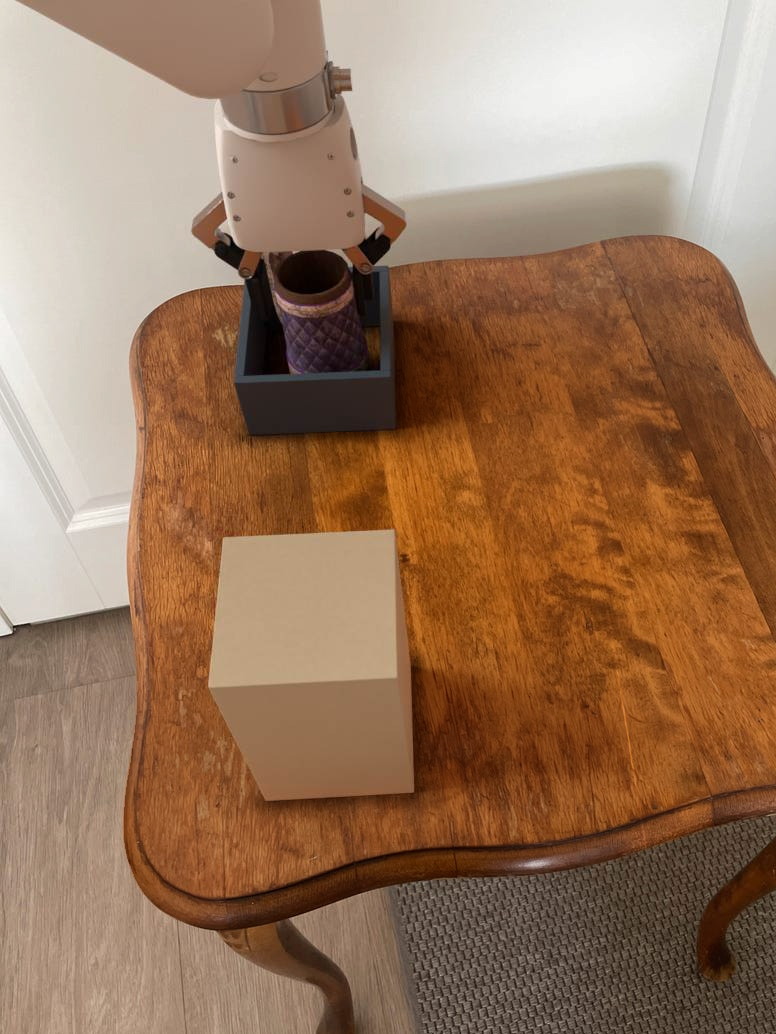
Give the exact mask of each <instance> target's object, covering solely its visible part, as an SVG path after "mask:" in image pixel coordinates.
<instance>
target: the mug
mask: <svg viewBox="0 0 776 1034" xmlns="http://www.w3.org/2000/svg"><path fill="white" fill-rule="evenodd" d="M261 257H262V259H264V261H265V265H266V269H267V274H268V278H269V283H270V287H271V292H272V297H273V301H274V305H275V309H276V312H277V314H278V317H279V320H280V322H281V323H282V324H283V329H284V330H283V333H284V339H285V345H286V350H285V355H286V359H287V365H288V369H289V370H288V371H289V374H304V373H329V372H354V371H372V369H371V365H370V364H371V356H370V350H369V345H368V341H367V337H366V336H365V335H364V331H363V327H362V326H361V321H360V316H359V314H358V310H357V306H356V300H355V293H354V286H353V279H352V275H351V271H350V269H349V268H348V267H349V264H348V262H347V261H346V260H345V258H343V256H342V255H339V254H338V253H336V252H334V251H332V250H331V251H330V250H311V251H296V252H295V253H294V251H284V252H263V253H262V255H261Z"/></svg>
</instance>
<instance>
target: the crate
mask: <svg viewBox="0 0 776 1034" xmlns="http://www.w3.org/2000/svg"><path fill="white" fill-rule="evenodd" d="M389 267H390V266H389V265H374V266H373V271H372V279H373V289H374V300H366V316H360V315H359V316H360V321H361V326H362V328H366V327H379V329H380V330H379V331H380V332H379V333H380V334H379V335H380V336H379V338H380V339H379V340H380V342H379V343H380V350H379V351H380V370H371V371H354V372H329V373H304V374H290V373H283V374H282V373H281V374H264V365H265V354H266V341H267V331H284V329H283V324H282V323H281V322H280V320H279V317H278V314H277V312H276V309H275V305H274V301H273V297H272V309H271V318H269V320H262V319H261V315H260V311H259V307H258V305H252V304H251V301H250V297H249V293H248V289H247V285H246V281H245V279H243V280H244V281H243V282H244V283H243V289H242V290H243V291H242V301H241V310H240V320H239V330H238V337H237V338H238V339H237V347H236V356H235V357H236V358H235V368H234V377H233V385H234V389H235V392H236V396H237V399H238V403H239V407H240V409H241V414H242V416H243V420H244V423H245V424H244V425H245V427H246V430H247V435H248V436H265V435H287V434H288V435H289V434H290V435H291V434H311V433H312V434H313V433H336V432H337V433H339V432H361V431H383V430H385V431H386V430H396V429H397V419H396V417H397V416H396V373H395V372H396V371H395V370H396V369H395V366H396V365H395V328H394V326H395V325H394V323H395V321H394V311H393V300H392V287H391V277H390V276H391V275H390V268H389ZM348 268H349V269H350V271H351V275H352V269H353V266H348ZM352 279H353V277H352Z"/></svg>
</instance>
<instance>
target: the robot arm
mask: <svg viewBox="0 0 776 1034" xmlns="http://www.w3.org/2000/svg"><path fill="white" fill-rule="evenodd" d="M15 1H16V2H18V3H19V4H22V5H23V6H25V7H27V8H29V9H31V10H32V11H35V12H36V13H38V14H40V15H42V16H44V17H46V18H47V19H49V20H51V21H53V22H55V23H57V24H58V25H60V26H62V27H64V28H65V29H67V30H70V31H71V32H73V33H75V34H76V35H78V36H80V37H82V38H84V39H86V40H88V41H89V42H91V43H93V44H95V45H97V46H98V47H101V48H102V49H104V50H106V51H108V52H110V53H112V54H113V55H114V56H117V57H119V58H121V59H122V60H124V61H125V62H127V63H130V64H131V65H133V66H135V67H137V68H139V69H141V70H143V71H144V72H146V73H147V74H150V75H152V76H153V77H155V78H157V79H159V80H160V81H162V82H164V83H166V84H168V85H170V86H171V87H173V88H175V89H176V90H178V91H180V92H182V93H184V94H186V95H189V96H191V97H194V98H198V99H205V100H217V101H216V102H215V104H214V108H213V109H214V111H213V112H214V113H213V114H214V115H213V117H214V136H215V137H214V139H215V150H216V158H217V159H216V161H217V166H218V174H219V179H220V186H221V192H220V193H219V194H218V195H217V196H215V198H213V199H212V200H211V201H210V203H208V204H207V205H206V206H205V207H204V208H203V209H202V210H201V211H200V212H199V213H198V214H196V215H195V216H194V218H193V219H192V223H191V230H190V232H191V235H192V236H193V237H194V238H196V239H197V240H198V241H199V242H201V244H203V245H204V246H206V248H208V249H209V250H210V249H211V250H212V251H213V252H214V255H215V256H216V257H217V258H218V259H220V260H221V261H223V262H224V263H225V264H227V265H229V266H230V267H232V268H233V269H235V270H236V271H237V274H238V276H239V277H240V278H241V279H243V280H245V281H246V285H247V289H248V293H249V297H250V301H251V304H252V305H258V307H259V311H260V315H261V319H262V320H269V318H271V309H272V292H271V287H270V283H269V278H268V274H267V269H266V265H265V261H264V259H262V257H261V255H262V253H263V252H284V251H292V252H299V251H311V250H327V251H330V250H331V251H333V250H341V251H342V252H343V253H344V255H345V256H346V257H347V259H348V260H349V261H350V262H351V263H352V267H353V269H352V277H353V286H354V293H355V300H356V306H357V310H358V314H359V315H360V316H366V300H374V289H373V279H372V271H373V266H376V264H378V262H379V261H381V259H382V258H383V257H384V256H385V255H386V254H387V253H388V252H389V251H390V250H391V246H392V245H393V244H394V242H396V240H397V239H398V238H399V237H400V235H401V234H402V233H403V232H404V230H405V229H406V227H407V213H406V211H405V210H404V209H402V208H401V207H399V206H398V205H396V204H394V203H393V202H392V201H390V200H388V198H386V197H384V196H382V195H381V194H379V193H378V192H376V191H375V190H373V189H372V188H370V187H369V186H367V185H365V183H364V178H363V172H362V165H361V160H360V154H359V149H358V144H357V140H356V135H355V130H354V127H353V124H352V120H351V116H350V112H349V110H348V109H349V108H348V106H347V103H346V101H345V99H344V96H343V95H342V94H343V92H353V91H354V87H353V73H352V68H341V67H340V66H338V65H337V66H335V65H334V61H333V60H330V55H329V50H327V45H326V37H325V30H324V29H325V27H324V21H323V13H322V5H321V0H15ZM366 214H367V215H368V216H370V217H371V218H373V219H375V220H377V221H378V222H379V223H380V226H378V227H377V228H375V230H373V231H372V233H371V234H370V235H369V236H367V235H366ZM225 221H227V224H228V229H229V233H230V234H229V233H227V232H223V231H222V230H221V228H219V227H220V226H221V225H222V224H223V223H225Z"/></svg>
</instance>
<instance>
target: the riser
mask: <svg viewBox="0 0 776 1034" xmlns="http://www.w3.org/2000/svg"><path fill="white" fill-rule="evenodd" d="M220 555H221V556H220V566H219V577H218V584H217V585H218V587H217V596H216V604H215V605H216V606H215V614H214V615H215V617H214V626H213V635H212V645H211V655H210V664H209V665H210V666H209V675H208V685H207V688H208V690H209V692H210V694H211V696H212V698H213V700H214V702H215V704H216V706H217V707H218V710H219V711H220V714H221V716H222V717H223V719H224V721H225V723H226V725H227V728H228V730H229V731H230V733H231V735H232V737H233V739H234V741H235V743H236V745H237V747H238V749H239V752H240V753H241V755H242V757H243V759H244V761H245V763H246V765H247V767H248V769H249V771H250V773H251V774H252V777H253V779H254V780H255V782H256V785H257V787H258V788H259V790H260V792H261V795H262V796H263V798H264V800H265V801H266V802H273V801H291V800H306V799H307V800H309V799H325V798H344V797H360V796H361V797H362V796H379V795H396V794H397V795H398V794H412V793H414V792H415V773H414V770H415V769H414V740H413V739H414V737H413V736H414V734H413V708H412V707H413V703H412V702H413V701H412V699H413V698H412V697H413V696H412V665H411V655H410V648H409V639H408V631H407V629H408V628H407V623H406V614H405V604H404V596H403V587H402V579H401V569H400V561H399V552H398V543H397V535H396V530H395V529H394V528H393V529H376V530H375V529H374V530H352V531H330V532H329V531H328V532H310V533H309V532H307V533H286V534H285V533H284V534H268V535H265V534H264V535H244V536H242V535H241V536H225V537H222V546H221V554H220Z"/></svg>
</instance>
